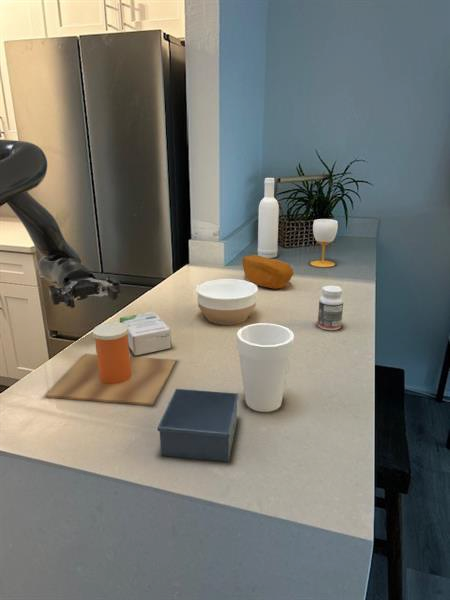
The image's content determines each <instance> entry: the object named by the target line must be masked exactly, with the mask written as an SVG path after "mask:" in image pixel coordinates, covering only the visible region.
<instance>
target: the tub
mask: <svg viewBox="0 0 450 600" xmlns="http://www.w3.org/2000/svg"><path fill="white" fill-rule="evenodd" d="M92 336H93V337H94V343H95V351H96V352H95V353H96V355H97V360H98V368H99V376H100V380H101V381H102V382H104V383H107V384H117V383H121V382H124V381H126V380H128V379H129V378H130V377H131V364H130V357H131V353H130V347H129V343H128V326H127V325H126V324H124V323H120V321H113V322H105V323H101V324H99V325H96V326H95V327H94V328H93V329H92Z"/></svg>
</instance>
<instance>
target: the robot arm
mask: <svg viewBox="0 0 450 600" xmlns="http://www.w3.org/2000/svg"><path fill="white" fill-rule="evenodd" d="M47 171H48V159H47V156H46V153H45V152H44V150H43V149H42V148H40V147H39V146H38V145H37V144H35V143H32V142H29V141H25V140H15V139H14V140H13V139H1V138H0V208H1V207H2V206H4V205H5V204H7V206H8V207H9V208H10V209H11V210H12V212H13V213H14V214H15V216H16V217H17V218H18V220H19V221H20V222H21V224H22V226H23V227H24V228H25V231H26V232H27V234H28V236H29V237H30V240H31V241H32V243H33V245H34V247H35V249H36V251H37V252H38V253H39V254H40V255H42V257H41V258H40V259H39V261H38V262H37V263H38V264H37V267H38V271H39V273H40V275H41V277H43V278H44V279H45V280H47V282H50V283H52V285H49V286H48V292H49V298H50V300H51V302H52V304H53V305H54V306H58V305H60V303H62V304H63V305H65V307H68V308H70V309H75V308H76V304H75V301H83V300H85V299H88V298H89V297H92V296H93V297H100V298H102V297H103V296H107V297H108V298H109V299H110V300H112V301H117V299H118V298H119V295H120V294H121V293H122V291H121V282H120V281H119V280H118V279H116V278H114V277H113V276H106V279H105V280H102V279H99V278H96V276H95V274H94V273H93V272H92V271H90V269H88V268H87V267H86V266H85V265H83V264H82V260H81V257H80V255H79V254H78V253H77V251H76V250H75V249H74V248H73V247H72V246H71V245H70V244H69V243H68V242H67V241H66V239H65V237H64V236H63V233H62V231H61V228H60V226H59V224H58V222H57V220H56V219H55V217H54V216H53V215H52V213H51V212H50V211H48V209H47V208H45V207H44V206H43V205H42V204H40V203H39V201H37V200H36V199H35V198H34V197H33V196H32V195H31V194H30V193H29V191H32V190H33V189H35V188H37V187H39V186H40V185H41V183H42V182H43V181H44V179H45V177H46V175H47ZM53 284H57V286H55V285H53Z"/></svg>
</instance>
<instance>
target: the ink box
mask: <svg viewBox="0 0 450 600" xmlns="http://www.w3.org/2000/svg"><path fill="white" fill-rule="evenodd" d="M119 323H124V324H126V325H127V326H128V343H129V350H131V352H132V353H133V355H134V357H137V356H140V355H145V354H150V353H154V352H160V351H163V350H169V349H171V348H172V334H171V328H170V327H169V326H168V325H167V324H166V323H165V321H164V320H162V319H161V318H160V316H159V315H158V314H157V313H156V312H155V311H150V312H144V313H140V314H134V315H128V316H122V317H120V318H119Z"/></svg>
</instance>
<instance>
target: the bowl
mask: <svg viewBox="0 0 450 600" xmlns="http://www.w3.org/2000/svg"><path fill="white" fill-rule="evenodd" d="M258 292H259V287H258V285H255V284H253V283H251V282H249V281H248V280H244V279H239V278H216V279H210V280H205V281H203V282H201V283H199V284H198V285H197V286H196V287H195V293H196V294H197V299H196V300H197V306H198V308H199V310H200V311H201V313H202V314H203V315H204V316H205V317H206V320H207V321H209V322H211V323H213V324H217V325H222V326H223V325H224V326H225V325H227V326H229V325H237V324H241V323H243V322H245V321H246V320H247V319H248V317H249V316H250V314H252V312H253V311H254V309H255V308H256V305H257V294H258Z"/></svg>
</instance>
